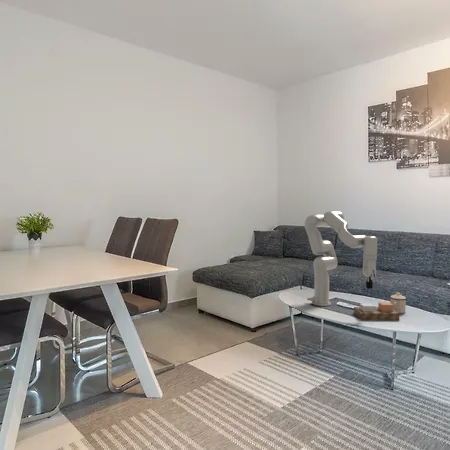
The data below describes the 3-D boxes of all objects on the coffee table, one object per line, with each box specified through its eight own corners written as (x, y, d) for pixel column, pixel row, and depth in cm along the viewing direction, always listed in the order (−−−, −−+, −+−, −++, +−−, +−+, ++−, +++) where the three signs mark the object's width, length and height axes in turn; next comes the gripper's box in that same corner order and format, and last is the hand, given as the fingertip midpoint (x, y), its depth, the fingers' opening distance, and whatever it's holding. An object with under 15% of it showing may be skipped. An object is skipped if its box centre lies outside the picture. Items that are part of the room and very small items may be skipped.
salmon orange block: (382, 313, 225) (382, 304, 225) (378, 310, 231) (378, 302, 231) (392, 313, 225) (392, 304, 225) (388, 310, 231) (388, 302, 231)
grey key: (363, 314, 225) (363, 306, 225) (359, 311, 231) (360, 303, 231) (373, 314, 225) (373, 306, 225) (369, 311, 231) (370, 303, 231)
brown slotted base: (361, 320, 222) (361, 313, 222) (353, 313, 235) (353, 307, 235) (399, 320, 222) (399, 313, 222) (389, 313, 235) (389, 307, 235)
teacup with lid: (392, 308, 246) (392, 290, 245) (407, 311, 240) (408, 292, 239) (386, 312, 237) (386, 294, 236) (402, 315, 231) (402, 296, 230)
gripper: (359, 255, 234) (358, 285, 235) (368, 259, 219) (367, 291, 220) (371, 255, 233) (371, 285, 235) (381, 259, 219) (380, 291, 220)
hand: (369, 288), depth 227 cm, fingers closed
